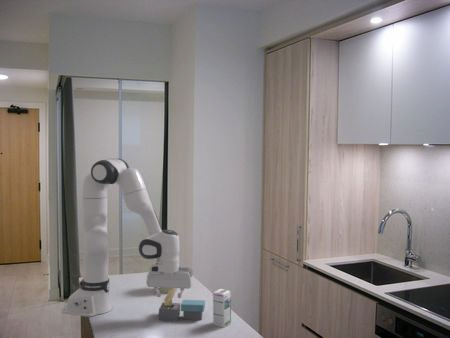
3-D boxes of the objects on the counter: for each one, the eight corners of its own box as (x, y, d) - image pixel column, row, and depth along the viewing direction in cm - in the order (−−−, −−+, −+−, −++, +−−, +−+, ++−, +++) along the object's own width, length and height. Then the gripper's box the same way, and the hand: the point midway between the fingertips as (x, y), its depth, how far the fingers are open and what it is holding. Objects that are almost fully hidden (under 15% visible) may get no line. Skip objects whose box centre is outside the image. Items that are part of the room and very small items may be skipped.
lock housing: (159, 320, 201) (159, 308, 200) (162, 313, 209) (162, 302, 208) (200, 321, 199) (200, 310, 199) (202, 314, 207) (203, 303, 207)
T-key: (170, 311, 211) (170, 289, 211) (174, 311, 211) (174, 289, 211) (164, 323, 197) (164, 299, 197) (168, 323, 197) (168, 299, 197)
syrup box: (224, 327, 193) (224, 294, 192) (212, 324, 196) (212, 291, 195) (231, 323, 197) (231, 290, 197) (219, 320, 200) (219, 288, 200)
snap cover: (180, 311, 201) (180, 304, 201) (183, 306, 207) (183, 299, 207) (203, 311, 200) (203, 305, 200) (204, 306, 206) (204, 300, 206)
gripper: (193, 265, 205) (193, 295, 206) (149, 263, 207) (148, 293, 208) (191, 269, 199) (191, 300, 200) (145, 267, 201) (145, 298, 202)
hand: (169, 297), depth 204 cm, fingers open, 8 cm apart
